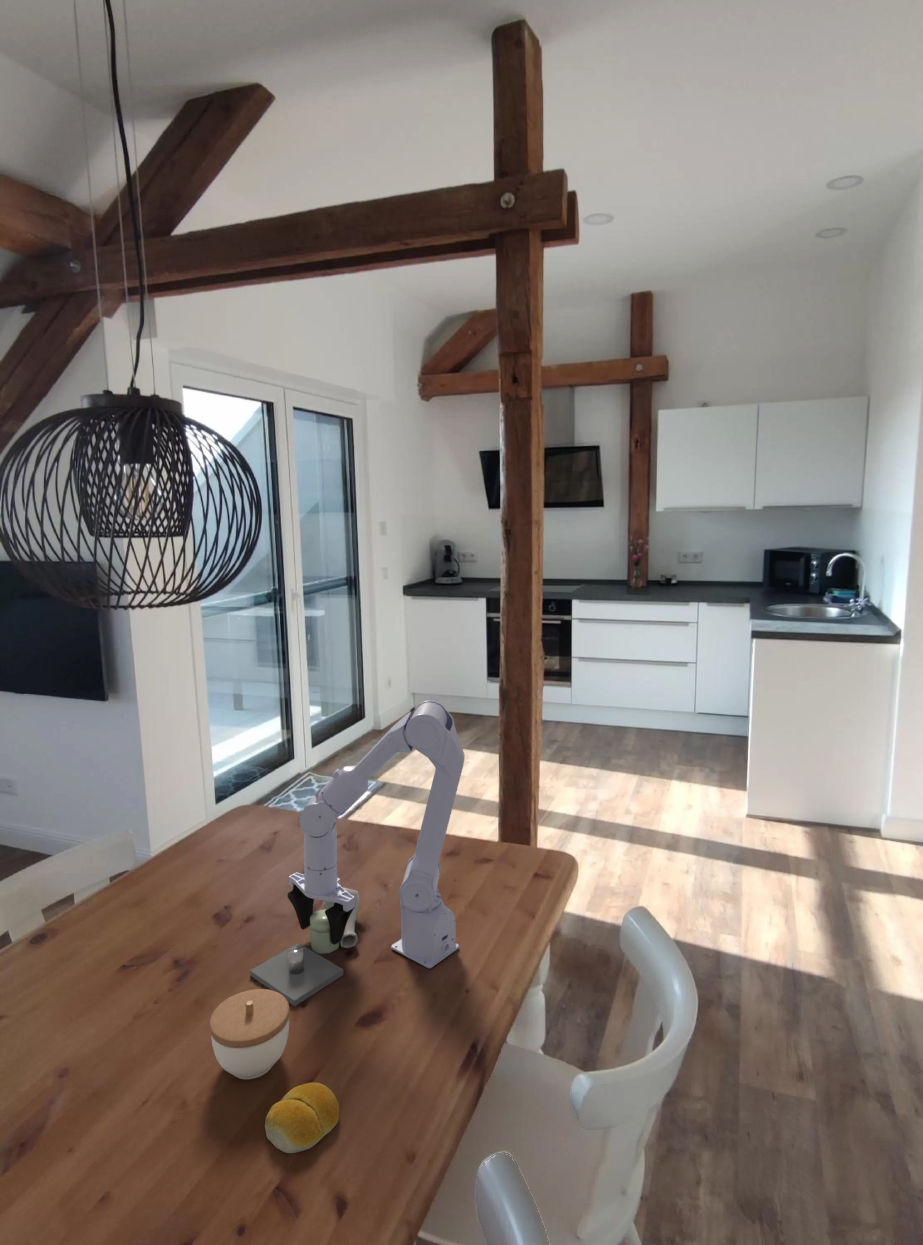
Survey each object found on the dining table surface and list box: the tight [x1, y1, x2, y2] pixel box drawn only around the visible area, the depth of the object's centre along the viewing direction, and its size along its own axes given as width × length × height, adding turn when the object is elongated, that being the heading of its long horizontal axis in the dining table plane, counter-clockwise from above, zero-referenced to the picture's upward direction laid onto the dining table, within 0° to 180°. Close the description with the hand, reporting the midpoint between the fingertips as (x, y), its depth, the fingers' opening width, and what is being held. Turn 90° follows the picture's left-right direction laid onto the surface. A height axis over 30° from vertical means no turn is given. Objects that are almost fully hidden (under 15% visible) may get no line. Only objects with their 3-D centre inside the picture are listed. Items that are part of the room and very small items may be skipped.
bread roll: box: [264, 1082, 340, 1154], centre depth 92 cm, size 8×9×4 cm
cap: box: [309, 909, 340, 955], centre depth 129 cm, size 5×5×6 cm
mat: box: [249, 942, 344, 1007], centre depth 121 cm, size 12×10×1 cm
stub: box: [288, 946, 304, 975], centre depth 121 cm, size 2×2×4 cm
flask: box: [321, 887, 361, 949], centre depth 133 cm, size 7×7×10 cm
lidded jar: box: [209, 988, 290, 1081], centre depth 101 cm, size 11×11×9 cm
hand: (321, 934), depth 129 cm, fingers open, 7 cm apart
